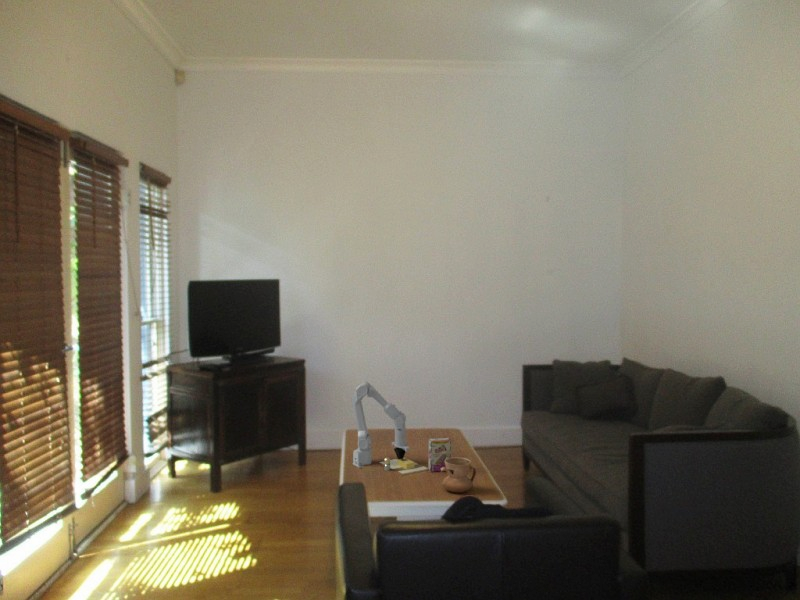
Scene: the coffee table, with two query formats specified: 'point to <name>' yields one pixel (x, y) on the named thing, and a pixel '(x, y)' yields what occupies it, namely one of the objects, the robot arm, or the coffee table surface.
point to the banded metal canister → (387, 464)
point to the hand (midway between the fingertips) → (400, 461)
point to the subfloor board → (394, 466)
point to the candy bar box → (438, 453)
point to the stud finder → (405, 463)
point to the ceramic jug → (458, 475)
